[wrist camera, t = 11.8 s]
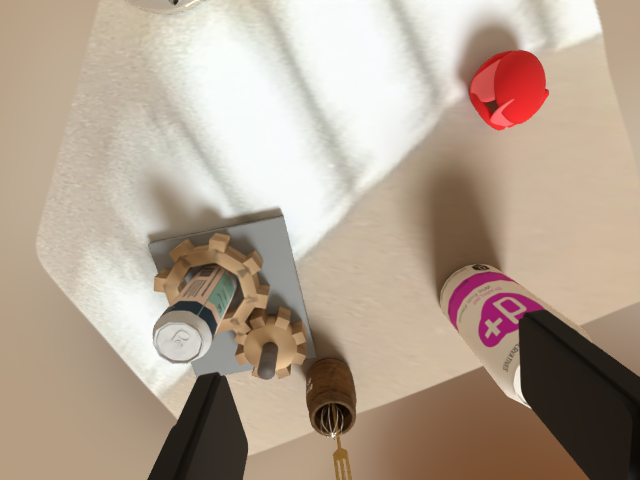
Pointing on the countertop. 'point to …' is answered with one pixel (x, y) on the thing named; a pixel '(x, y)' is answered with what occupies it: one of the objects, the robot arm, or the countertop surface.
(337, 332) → the countertop surface
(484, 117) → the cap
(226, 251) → the oak gear
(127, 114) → the countertop surface
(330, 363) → the utensil holder
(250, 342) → the small gear
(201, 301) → the beer can
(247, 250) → the gear board
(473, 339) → the supplement can
